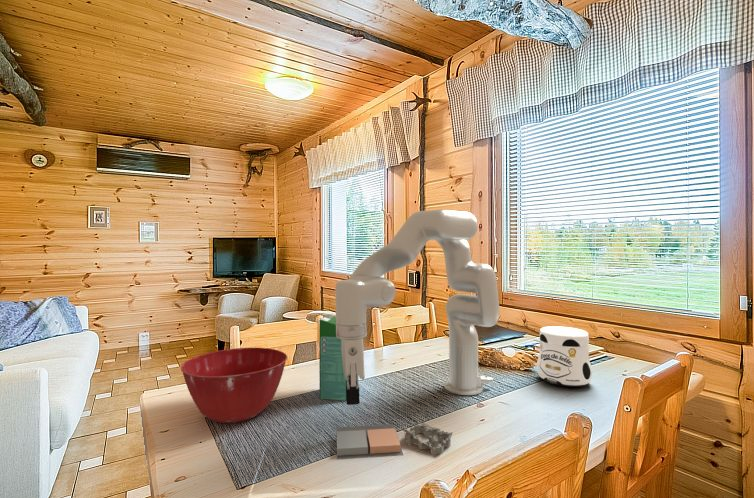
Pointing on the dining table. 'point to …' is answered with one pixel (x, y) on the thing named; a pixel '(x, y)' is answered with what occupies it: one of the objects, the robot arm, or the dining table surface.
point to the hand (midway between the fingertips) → (352, 403)
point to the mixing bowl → (234, 382)
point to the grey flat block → (351, 442)
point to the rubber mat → (369, 427)
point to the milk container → (564, 356)
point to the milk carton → (330, 361)
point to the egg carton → (431, 433)
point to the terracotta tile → (383, 441)
